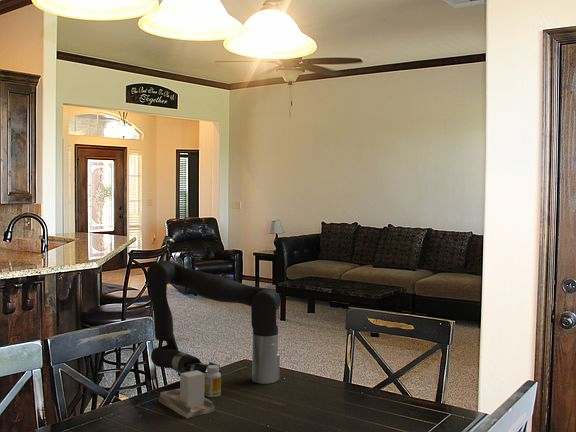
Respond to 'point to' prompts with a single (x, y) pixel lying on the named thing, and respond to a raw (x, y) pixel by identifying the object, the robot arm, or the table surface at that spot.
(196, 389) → the white padded block
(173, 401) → the birch tray
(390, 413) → the table surface
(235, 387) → the table surface
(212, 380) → the supplement bottle
